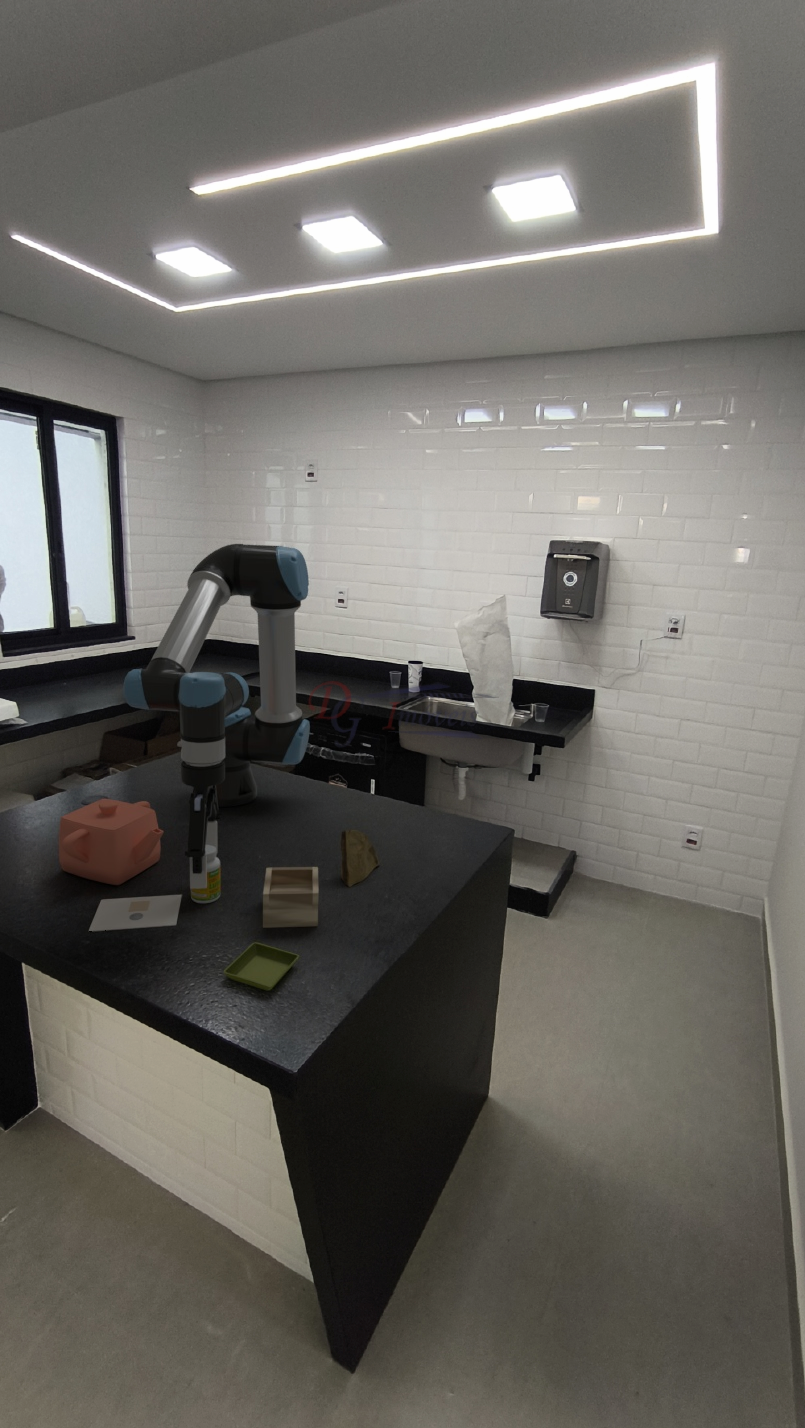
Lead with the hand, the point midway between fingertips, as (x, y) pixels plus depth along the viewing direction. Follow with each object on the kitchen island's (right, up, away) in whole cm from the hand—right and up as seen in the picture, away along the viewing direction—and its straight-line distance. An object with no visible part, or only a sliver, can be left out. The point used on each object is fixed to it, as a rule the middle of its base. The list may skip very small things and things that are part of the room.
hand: (204, 869), depth 119 cm
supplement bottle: (0, -6, +2) cm, 6 cm away
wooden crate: (+16, -7, -2) cm, 18 cm away
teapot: (-20, -3, +10) cm, 22 cm away
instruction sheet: (-11, -7, -5) cm, 13 cm away
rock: (+28, -4, +14) cm, 32 cm away
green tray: (+15, -12, -18) cm, 26 cm away
